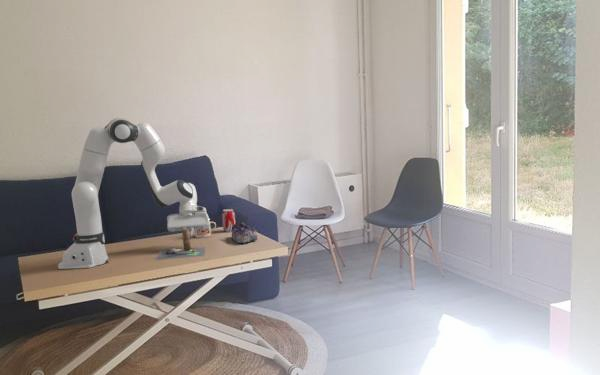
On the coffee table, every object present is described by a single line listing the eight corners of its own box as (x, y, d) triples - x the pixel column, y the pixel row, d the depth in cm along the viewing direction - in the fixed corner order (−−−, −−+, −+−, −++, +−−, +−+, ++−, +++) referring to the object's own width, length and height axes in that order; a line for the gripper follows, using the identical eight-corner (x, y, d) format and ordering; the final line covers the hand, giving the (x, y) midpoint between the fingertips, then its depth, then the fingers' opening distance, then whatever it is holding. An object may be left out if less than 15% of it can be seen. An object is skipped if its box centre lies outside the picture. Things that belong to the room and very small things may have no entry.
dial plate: (155, 263, 264) (155, 259, 264) (159, 254, 281) (159, 250, 280) (204, 258, 266) (204, 255, 266) (205, 250, 283) (205, 246, 283)
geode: (224, 239, 306) (224, 220, 306) (244, 238, 311) (245, 220, 311) (238, 244, 288) (238, 224, 288) (259, 243, 294) (260, 224, 293)
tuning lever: (164, 253, 273) (162, 230, 272) (169, 251, 277) (166, 228, 276) (193, 254, 269) (191, 230, 267) (197, 252, 273) (195, 228, 271)
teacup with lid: (196, 238, 310) (194, 217, 308) (193, 235, 318) (191, 214, 317) (218, 235, 314) (216, 214, 312) (215, 232, 322) (213, 212, 321)
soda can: (233, 232, 320) (232, 211, 319) (221, 232, 322) (219, 211, 320) (237, 229, 327) (236, 208, 325) (225, 229, 329) (224, 208, 327)
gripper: (166, 210, 281) (165, 234, 273) (208, 207, 283) (209, 230, 275) (167, 218, 286) (167, 241, 278) (209, 214, 288) (210, 238, 280)
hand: (188, 236), depth 277 cm, fingers closed
